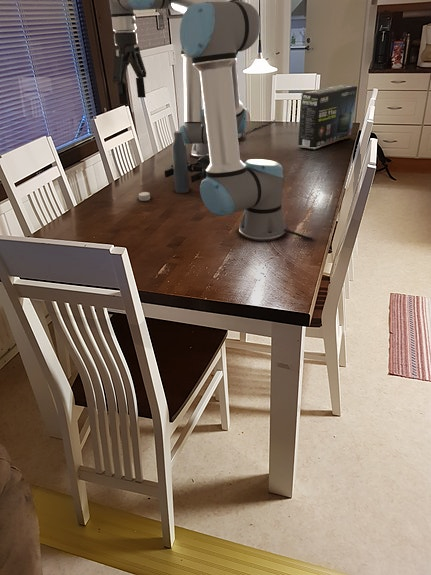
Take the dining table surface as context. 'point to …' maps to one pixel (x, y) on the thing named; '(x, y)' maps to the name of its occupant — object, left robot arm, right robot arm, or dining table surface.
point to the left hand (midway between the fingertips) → (178, 176)
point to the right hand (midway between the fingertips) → (133, 100)
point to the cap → (144, 196)
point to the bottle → (180, 163)
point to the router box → (326, 115)
